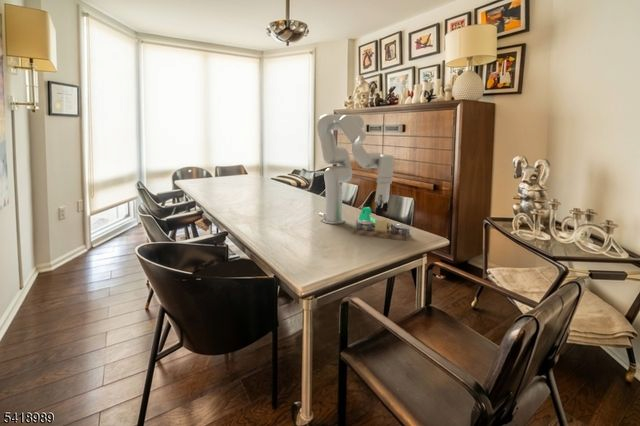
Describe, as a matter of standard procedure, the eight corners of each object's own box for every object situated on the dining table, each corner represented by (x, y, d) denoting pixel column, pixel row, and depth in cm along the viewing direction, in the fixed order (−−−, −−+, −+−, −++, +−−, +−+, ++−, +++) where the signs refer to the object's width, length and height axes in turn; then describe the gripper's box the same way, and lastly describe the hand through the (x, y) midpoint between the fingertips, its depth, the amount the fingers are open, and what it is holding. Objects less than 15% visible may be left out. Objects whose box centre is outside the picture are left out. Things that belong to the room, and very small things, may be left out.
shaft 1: (355, 229, 184) (355, 220, 183) (356, 227, 189) (357, 218, 187) (373, 231, 182) (373, 222, 181) (374, 228, 186) (374, 220, 185)
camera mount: (380, 227, 197) (381, 208, 194) (368, 228, 194) (369, 209, 192) (370, 221, 207) (371, 204, 205) (358, 222, 205) (359, 205, 202)
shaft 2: (389, 233, 179) (389, 224, 178) (392, 231, 182) (393, 222, 181) (406, 236, 174) (407, 226, 173) (409, 234, 177) (410, 224, 176)
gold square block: (373, 231, 181) (374, 220, 180) (376, 228, 187) (377, 217, 185) (387, 233, 178) (388, 221, 177) (390, 230, 184) (391, 219, 182)
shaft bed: (354, 233, 183) (354, 230, 182) (360, 228, 192) (360, 225, 192) (405, 240, 172) (405, 237, 172) (409, 234, 182) (409, 231, 182)
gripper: (381, 176, 186) (378, 208, 190) (372, 181, 170) (369, 216, 175) (395, 178, 183) (392, 210, 187) (387, 183, 167) (384, 218, 172)
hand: (381, 213), depth 181 cm, fingers open, 9 cm apart
